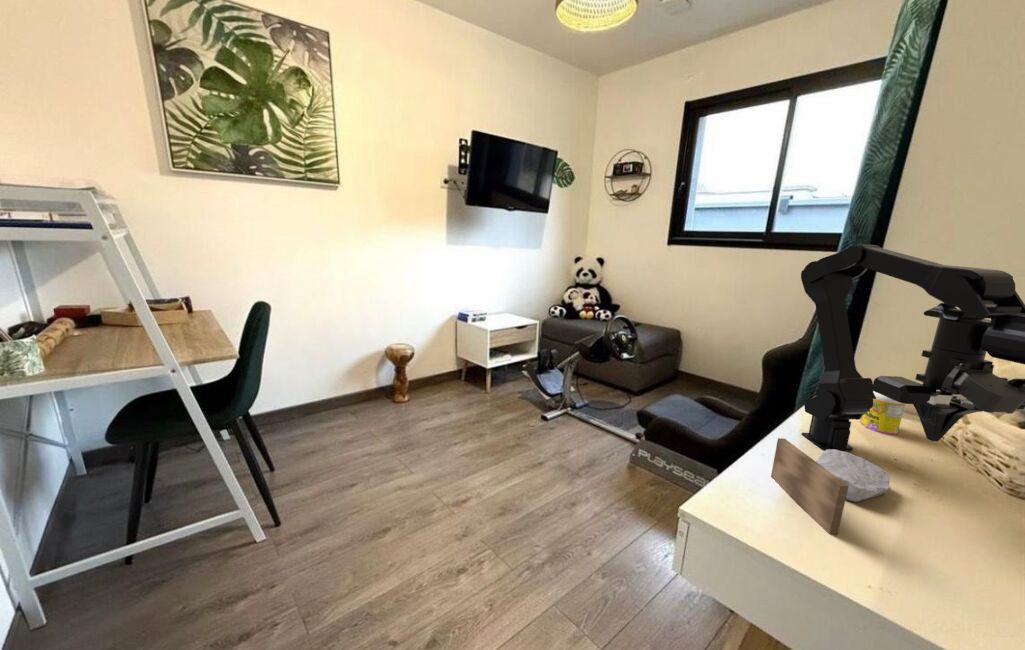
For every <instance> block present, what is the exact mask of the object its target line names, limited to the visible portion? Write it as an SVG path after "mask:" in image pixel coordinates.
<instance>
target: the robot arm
mask: <svg viewBox="0 0 1025 650" xmlns="http://www.w3.org/2000/svg"><path fill="white" fill-rule="evenodd" d="M868 270H871V271H873V272H876V273H879V274H883V275H884V276H885V275H886V276H889V277H892V278H895V279H898V280H900V281H904V282H907V283H908V284H909V283H910V284H912V285H916V286H918V287H919V288H921V289H923V290H924V292H925V293H927V295H929V296H930V297H932V298H934V299H936V300H938V301H940V303H938V304H937V305H936V306H934V307H932V308H929V309H928V310H925V311H924V312H923V315H924V316H926V317H931V318H937V319H938V322H937V326H936V330H935V333H934V337H933V340H932V344H931V348H930V350H929V349H928V350H927V349H926V350H925V349H923V350H922V353H921V357H923V358H927V363H926V367H925V371H924V373H916V375H915V381H914V380H912V379H908V378H906V377H903V376H897V375H896V376H895V375H894V376H893V375H879V376H877V377H876V378H874V380H873V379H872V378H871V377H863V376H862V375H861V374H860V373H859V372H858V370H857V368H856V360H855V356H854V354H855V353H854V349H853V343H852V342H853V341H852V336H851V334H852V333H851V330H850V329H851V328H850V324H849V323H850V322H849V316H848V311H847V304H846V300H847V298H848V296H849V294H850V292H851V290H852V289H853V280H854V279H856V278H859V277H861V276H862V275H863V274H865V273H866V272H867V271H868ZM800 273H801V274H800V279H801V280H800V281H801V282H802V287H803V290H804V293H805V294H806V295H807V296H808V297H809V299H810V300H812V301H811V302H813V303H814V304H815V310H816V316H817V317H816V318H817V324H818V331H819V339H820V345H821V350H822V358H823V365H824V372H823V375H821V379H820V380H819V382H818V384H817V385H818V386H817V387H818V388H817V390H818V391H817V394H816V395H815V396H813V397H810V398H809V399H807V400H805V401H804V402H803V404H804V412H805V413H807V414H809V415H810V416H811V420H810V424H809V425H810V426H809V431H808V432H801V434H800V435H801V436H802V437H804V438H805V439H806V440H809V442H811V443H812V444H814V445H815V446H817V447H819V448H820V449H821V450H829V449H835V450H839V451H853V450H854V447H852V446H851V445H850V444H848V443H849V439H850V435H851V424H852V422H851V420H857V421H858V420H859V421H860V419H861V417H862V416H863V415H864V413H866V412H868V411H869V410H870V409H871V408H872V407H873V399H876V397H875V395H874V392H877V393H879V394H881V395H884V396H886V397H888V398H890V399H893V400H895V401H897V402H900V403H904V404H905V405H913V407H914V409H915V410H916V413H917V416H918V418H919V421H920V424H921V426H922V428H923V431H924V434H925V437H926V439H927V440H929V441H931V442H940V440H941V439H942V438H943V437H944V436H945V435H946V434H947V433H948V432H949V430H951V428H952V427H953V426H955V424H957V422H959V421H960V420H961V419H962V418H963V417H964V416H966V415H970V414H973V413H982V412H984V413H989V414H990V413H991V414H993V413H1005V414H1007V415H1008V414H1009V415H1010V414H1011V415H1012V414H1014V413H1015V411H1016V410H1025V378H1020V377H1019V378H1016V377H1015V378H1013V379H1009V378H1007V377H999V376H997V375H996V374H994V373H993V371H994V367H995V365H994V364H993V363H994V361H990V360H987V359H986V358H985V357H986V356H987V354H988V355H989V356H990V357H991V358H993V359H994V358H995V359H998V360H1003V361H1007V362H1011V363H1017V364H1020V365H1025V303H1024V301H1023V300H1022V298H1021V297H1020V295H1019V294H1018V292H1017V291H1016V282H1015V280H1014V276H1013V275H1011V274H1010V273H1009V272H1006V271H1003V270H999V269H990V268H979V267H973V266H972V267H968V266H958V265H957V266H956V265H947V264H942V263H938V262H934V261H931V260H927V259H923V258H919V257H915V256H913V255H908V254H905V253H902V252H897V251H893V250H890V249H885V248H882V247H880V246H879V245H875V244H853V245H851V246H849V247H847V248H845V249H844V250H842V251H839V252H837V253H834V254H830V255H828V256H825V257H822V258H820V259H818V260H815V261H814V260H813V261H811V262H809V263H807V265H805V266H804V268H803V270H801V272H800ZM916 381H919V382H921V383H919V382H916ZM873 391H874V392H873Z"/></svg>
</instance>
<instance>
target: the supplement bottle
mask: <svg viewBox="0 0 1025 650" xmlns="http://www.w3.org/2000/svg"><path fill="white" fill-rule="evenodd" d="M873 392H874V391H873ZM874 395H875V397H876V399H873V407H872V408H871V409H870V410H869V411H868V412H866V413H864V415H863V416H862V417H861V419H860V420H859V423H860V425H861V426H862V427H864V428H866V429H867V430H870V431H873V432H875V433H879V434H883V435H889V436H894V435H898V432H899V431H900V426H901V422H902V418H903V414H904V410H905V406H906V404H904V403H900V402H897V401H895V400H893V399H890V398H888V397H886V396H884V395H881V394H879V393H877V392H874Z"/></svg>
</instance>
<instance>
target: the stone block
mask: <svg viewBox="0 0 1025 650" xmlns="http://www.w3.org/2000/svg"><path fill="white" fill-rule="evenodd" d="M815 461H816V462H817V463H818V464H820V465H821V466H822V467H824V468H825V469H827V470H828V471H829V472H831V473H832V474H833V475H835V476H836V477H837V478H839V479H840V480H841V481H843V482H844V483H845V484H847V485H848V486H849V487H848V491H847V496H846V500H848V501H851V502H861V501H864V500H868V499H872V498H876V497H879V496H880V495H884V494H886V492H888V490H890V489H891V488H890V482H891V481H890V479H891V477H890V475H889V473H888V472H887V471H885V470H884V469H882V468H881V467H880V466H878V465H876V464H874V463H872V462H870V461H868V460H866V459H865V458H863V457H861V456H857V455H854V454H853V453H850V452H847V451H843V450H835V449H825V450H824V451H823V452H822V453H821V454H820V456H819V457H818V459H817V460H815Z"/></svg>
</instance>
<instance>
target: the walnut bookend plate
mask: <svg viewBox="0 0 1025 650" xmlns="http://www.w3.org/2000/svg"><path fill="white" fill-rule="evenodd" d="M816 461H817V460H815V459H813V458H812V457H811V456H809V455H808V454H806V453H805V452H804V451H802V450H801V449H799V447H796V445H795V444H793V443H792V442H790V441H789V440H787V438H784V437H783V438H780V437H779V438H777V442H776V447H775V452H774V458H773V462H772V469H771V473H770V477H771V479H772V480H773V479H774V480H775V481H774V480H773V481H774V482H775V483H776V484H777V485H778V484H779V485H778V486H779V487H780V488H781V489H782V490H783V491H784V492H785V493H786V494H787V495H788V497H790V498H791V499H792V500H793V502H794V503H796V504H797V505H798V507H800V508H801V509H802V510H803V511H804V512H805V513H806V514H808V515H809V517H811V518H812V519H813V520H814V521H815V522H816V523H817V524H818V525H819V526H820V527H821V528H822V529H823V530H824V531H826V532H827V533H828V534H829V535H838V534H839V529H840V525H841V521H842V517H843V512H844V507H845V504H846V500H847V499H846V496H847V491H848V487H849V486H848V485H847V484H845V483H844V482H843V481H841V480H840V479H839V478H837V477H836V476H835V475H833V474H832V473H831V472H829V471H828V470H827V469H825V468H824V467H822V466H821V465H820V464H818V463H817V462H816Z"/></svg>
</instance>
